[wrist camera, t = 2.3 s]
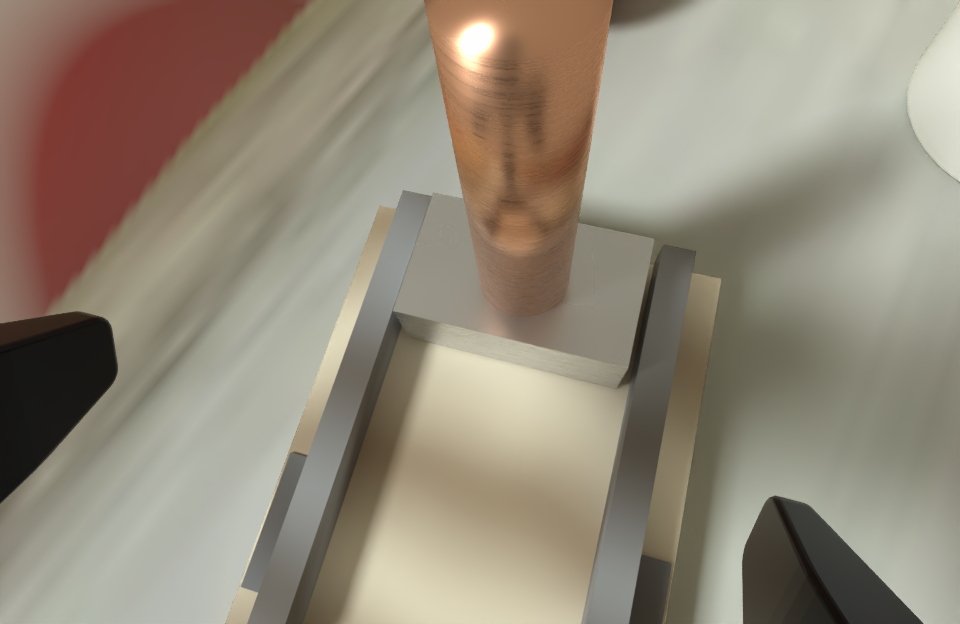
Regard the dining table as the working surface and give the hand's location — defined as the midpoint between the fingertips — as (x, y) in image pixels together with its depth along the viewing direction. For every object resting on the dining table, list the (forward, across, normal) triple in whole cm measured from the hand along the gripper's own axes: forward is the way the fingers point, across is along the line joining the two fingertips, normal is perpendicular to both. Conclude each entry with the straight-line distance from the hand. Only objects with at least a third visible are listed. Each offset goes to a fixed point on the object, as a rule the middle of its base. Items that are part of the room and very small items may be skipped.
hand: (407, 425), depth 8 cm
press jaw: (+12, 0, +4) cm, 12 cm away
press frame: (+8, 0, +9) cm, 13 cm away
